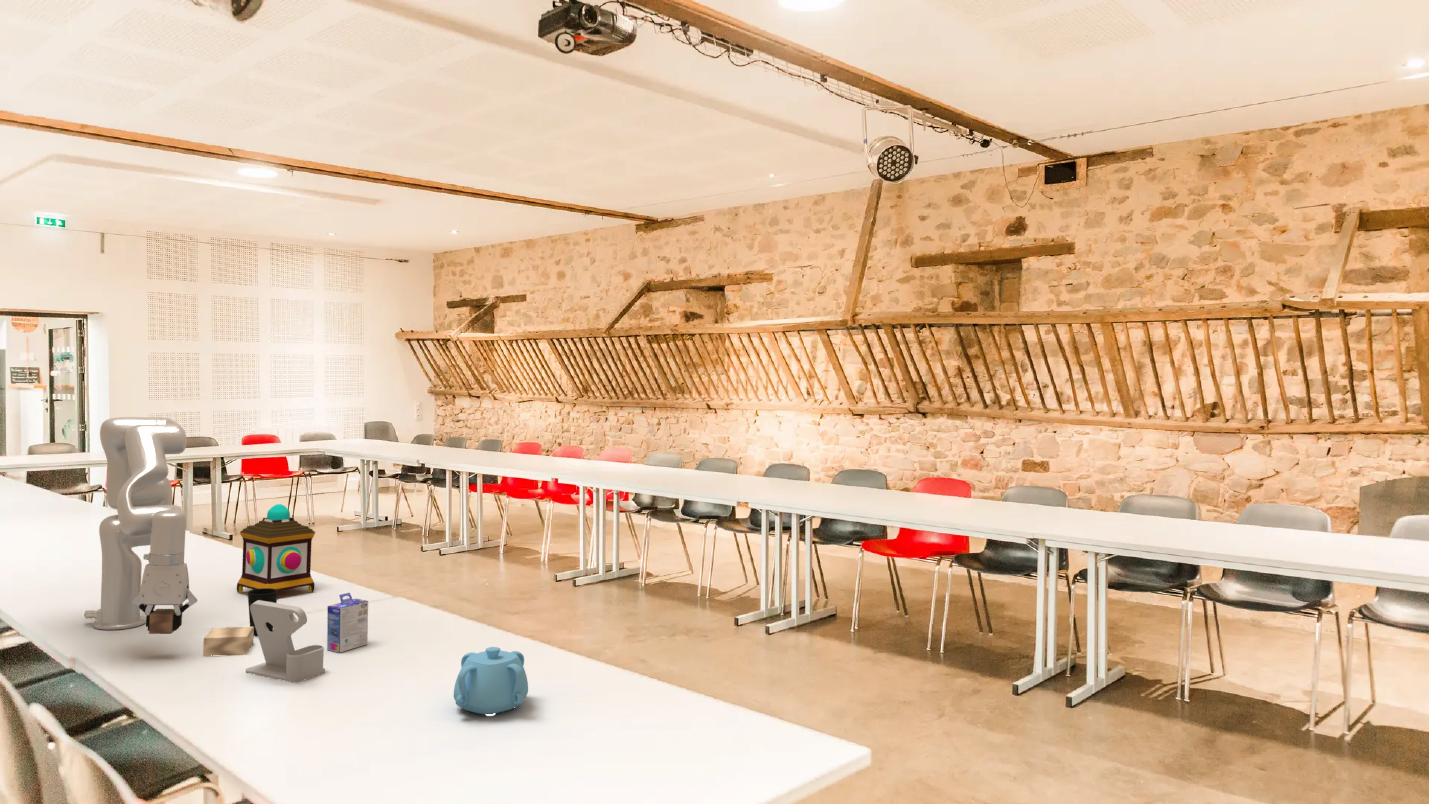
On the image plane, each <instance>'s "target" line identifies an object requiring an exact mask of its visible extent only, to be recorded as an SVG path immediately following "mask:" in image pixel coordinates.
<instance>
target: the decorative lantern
mask: <svg viewBox="0 0 1429 804" xmlns="http://www.w3.org/2000/svg"><path fill="white" fill-rule="evenodd" d="M239 534H240V536H241V538H242V571H241V575H240V578H239V580H238V581H237V584H236V593H238V594H242V593H243V591H244V588H246V589H250V590H254V589H261V588H272V589H277V590H278V592H280V591H286V590H291V589H298V588H301V587H302V588H303V587H307V588H308V589H307V590H308V592H309V593H311V594H312V593H313V592H314V591H315V586H316V585H315V580H314V579H313V577H312V575H311V567H312V566H311V563H312V561H311V560H312V540H313V538H314V536H315V534H316V531H315V530H313V529H312V528H310V527H309V526H308V525H304V524H301V523H299V522H298V521H297V520H295V518H294V517H291V513H290V510H289V509H288V508H287V506H286V505H283V504H281V503H278V504H277V503H276V504H275V505H273V506H271V507H270V508H269V509H268V511H267V514H266V517H263V518H262V520H259V521H258V522H257V523H255V524H254V525H248V526H246V527H245V528H243V529H242V530H240V531H239Z"/></svg>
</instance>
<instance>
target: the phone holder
mask: <svg viewBox="0 0 1429 804" xmlns="http://www.w3.org/2000/svg"><path fill="white" fill-rule="evenodd" d="M250 611H251V614H252V618H253V621H254V624H255V628H256V631H257V634H258V636H257V637H258V641H259V644H260V647H261V650H262V654H263V658H264V660H265V662H263V663H260V664H256V665H253V666H251V667H247V668H246V669H245V673H246V674H248V673H252V674H251V675H253V674H255V675H254V676H258V677H263V676H264V677H265V678H268V677H269V679H272V680H278V679H281V680H280V681H283V680H284V682H288V683H293V682H295V683H300V681H301V682H303V681H305V680H304V679H306V680H308V678H309V679H311V678H313V677H312V676H314V677H317V676H319V674H320V675H322V674H324V673H325V672H326V668H324V655H325V654H324V651H325V648H324V646H323V645H320V644H319V645H318V644H315V645H307V646H305V647H302V648H299V649H296V650H295V645H294V642H293V638H292V635H293V634H294V633H296V632H297V631H298V630H300V628H302V627H303V626H304V625H306V624H307V623H308V617H307V614H306V612H305V610H304V609H302V608H301V607H300V606H297V605H290V604H285V603H284V604H283V603H279V602H277V603H273V602H267V601H261V600H257V601H256V602H254V603H253V604H251V605H250ZM295 615H296V616H295ZM296 617H297V618H296ZM266 622H268V623H270V624H271V625H272V626H273V632H270V631H269V629H268V628H267V626H266ZM321 673H322V674H321ZM264 677H263V678H264ZM310 677H311V678H310ZM302 680H303V681H302Z"/></svg>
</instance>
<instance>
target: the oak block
mask: <svg viewBox="0 0 1429 804" xmlns="http://www.w3.org/2000/svg"><path fill="white" fill-rule="evenodd" d="M254 637H255V636H254V627H250V626H236V627H235V626H234V627H233V626H232V627H231V626H230V627H212V628H211V629H210V630H209V631H208V633H207V634H206V635H205V636H204V638H203V649H202V652H203V654H202V657H203V656H206V657H214V656H213V655H227V656H243V655H244V654H245V655H246V656H247V654H248V653H249V651H250V650H249V649H251V648H252V646H253V645H254ZM252 644H253V645H252ZM247 652H248V653H247ZM211 655H212V656H211ZM245 655H244V656H245Z"/></svg>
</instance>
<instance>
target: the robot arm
mask: <svg viewBox="0 0 1429 804" xmlns="http://www.w3.org/2000/svg"><path fill="white" fill-rule="evenodd" d="M99 438H100V439H99V440H100V444H101V447H102V449H103V452H104V455H105V458H106V463H107V464H106V465H107V466H106V467H107V468H106V501H107V505H108V507H110V508H111V509H115V510H116V512H117V514H113V515H110V516H107V517H105V518H104V519H102V520H101V522H100V524H99V526H98V527H99V529H98V533H99V541H100V547H101V586H100V587H101V588H100V590H101V591H100V592H101V593H100V608H99V609H97V610H85V611H84V613H83V614H84V615H83V616H84V618H85V619H95V621H94V622H93V626H92V627H93V628H95V629H98V630H104V631H105V630H106V631H110V630H111V631H112V630H124V629H130V628H136V627H139V626H142V625H144V624H145V627H146V628H147V632H149V624H150V614H151V613H152V612H154V611H155V608H156V606H172V607H173V609H174V610H175V615H174V616H173V631H174V632H176V631H177V630H178V629H179V628H180V627H182V623H183V622H182V621H183V613H184V612H185V611H186V610H187V609H188V608H189V609H190V607H191V606H193V605H195V604H196V603H197V602H198V599H197V597H196V596H195V595H194V594H193V593H192V591H191V590H190V578H189V571H188V566H187V565H188V564H187V563H186V562H185V547H186V525H187V524H186V523H187V522H186V521H187V515H186V514H185V512H184V510H183V509H182V508H181V506H179V505H177V504H176V505H175V504H173V487H172V483H171V481H170V479H169V478H168V476H169V467H168V463H167V458H166V455H180V454H182V453H184V452H185V450H186V448H187V445H188V443H187V441H188V440H187V435H186V432H185V430H184V428H183V427H182V425H180V424H179V423H178V422H177V421H175V420H173V419H172V418H169V417H158V416H157V417H155V416H153V417H152V416H150V417H148V416H147V417H145V416H144V417H141V416H138V417H136V416H125V417H123V416H122V417H121V416H120V417H111V418H108V419H106V420H104V421H103V422H102V424H101V425H100V431H99ZM145 546H150V547H149V553H144V554H143V560H146V561H148V563H147V564H146V565H145V567H144V568H143V567H142V566H143V564H142V560H141V558H140V557H139V555H138V554H136V553H135V552H134V551H133V550H132V549H133V548H137V547H145ZM142 568H143V569H144V570H143V569H142ZM142 570H143V572H142ZM186 600H188V602H186V603H185V604H184V602H185V601H186ZM141 612H142V613H144V615H141Z"/></svg>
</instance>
